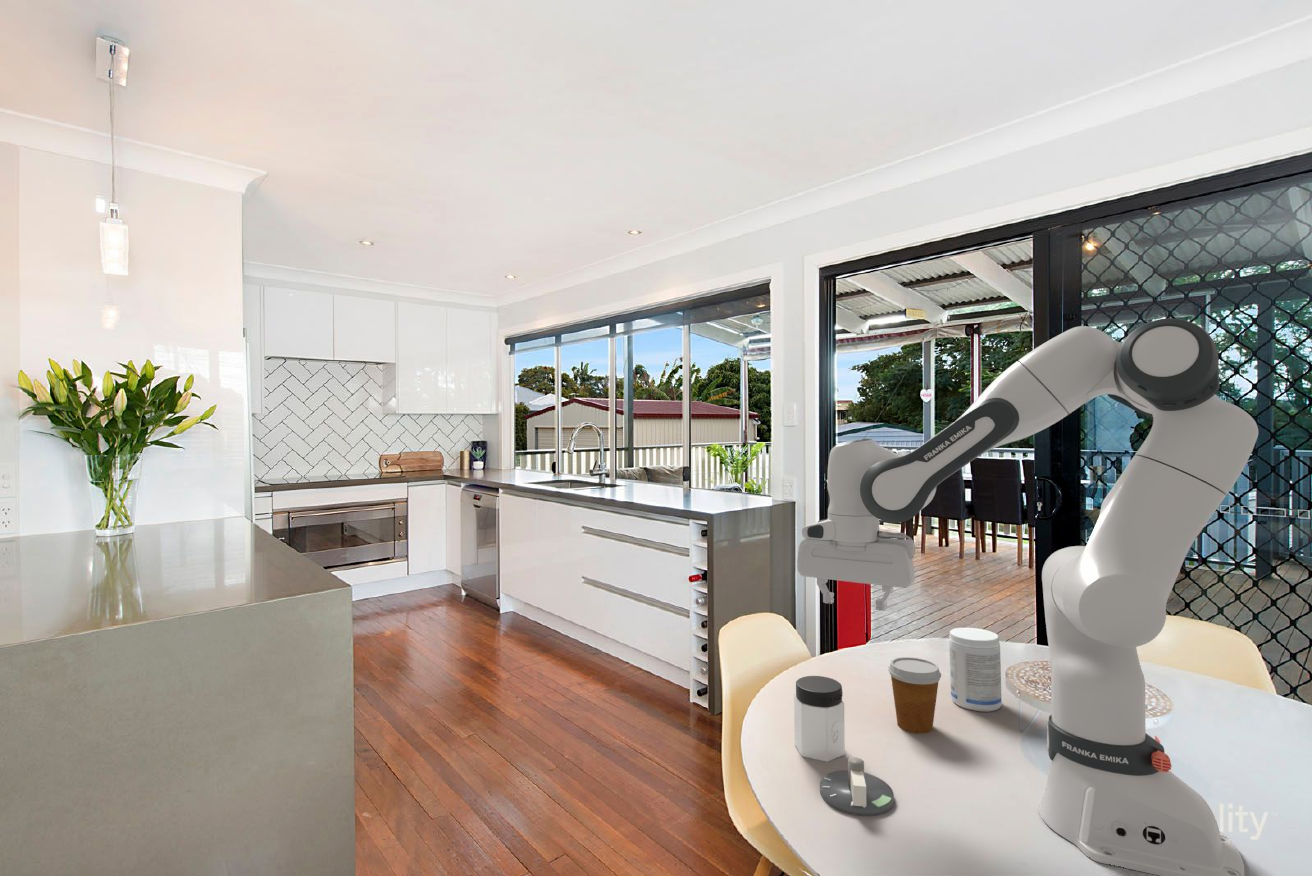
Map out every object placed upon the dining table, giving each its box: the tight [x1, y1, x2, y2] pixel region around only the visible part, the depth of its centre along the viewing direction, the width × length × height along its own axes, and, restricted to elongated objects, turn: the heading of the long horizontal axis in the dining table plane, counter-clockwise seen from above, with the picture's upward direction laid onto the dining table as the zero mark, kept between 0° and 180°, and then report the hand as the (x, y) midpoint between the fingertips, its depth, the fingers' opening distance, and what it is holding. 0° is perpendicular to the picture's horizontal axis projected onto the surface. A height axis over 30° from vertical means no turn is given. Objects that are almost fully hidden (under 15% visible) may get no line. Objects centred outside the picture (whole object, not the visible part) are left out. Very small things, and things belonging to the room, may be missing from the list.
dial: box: [819, 769, 895, 817], centre depth 99 cm, size 11×11×1 cm
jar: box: [793, 675, 846, 763], centre depth 114 cm, size 9×8×12 cm
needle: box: [847, 756, 866, 807], centre depth 97 cm, size 6×2×4 cm, turn 168°
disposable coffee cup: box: [887, 656, 942, 735], centre depth 123 cm, size 10×10×12 cm
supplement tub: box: [948, 627, 1003, 713], centre depth 133 cm, size 10×10×15 cm
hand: (854, 606), depth 114 cm, fingers open, 8 cm apart
